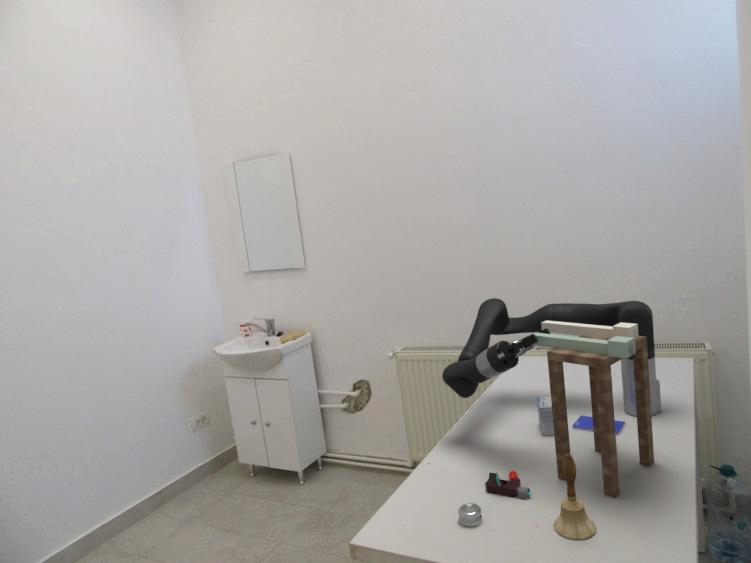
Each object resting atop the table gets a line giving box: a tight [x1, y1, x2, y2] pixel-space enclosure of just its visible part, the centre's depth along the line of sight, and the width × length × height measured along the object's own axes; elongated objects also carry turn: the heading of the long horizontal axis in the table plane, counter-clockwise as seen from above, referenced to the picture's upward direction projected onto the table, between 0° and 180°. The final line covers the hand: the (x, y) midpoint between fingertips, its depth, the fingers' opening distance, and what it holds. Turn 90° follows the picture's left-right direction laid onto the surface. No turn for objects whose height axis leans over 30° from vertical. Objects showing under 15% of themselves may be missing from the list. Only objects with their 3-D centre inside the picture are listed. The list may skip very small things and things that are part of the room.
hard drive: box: [572, 414, 626, 437], centre depth 153 cm, size 2×8×12 cm
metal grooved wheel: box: [457, 502, 483, 528], centre depth 116 cm, size 5×3×5 cm
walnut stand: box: [546, 336, 655, 499], centre depth 127 cm, size 14×20×32 cm
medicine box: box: [536, 396, 554, 436], centre depth 154 cm, size 8×4×9 cm, turn 168°
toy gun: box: [484, 470, 534, 500], centre depth 127 cm, size 10×12×5 cm
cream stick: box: [541, 320, 638, 340], centre depth 133 cm, size 24×4×4 cm, turn 39°
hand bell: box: [552, 453, 597, 541], centre depth 108 cm, size 8×8×16 cm
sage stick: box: [533, 332, 635, 359], centre depth 122 cm, size 24×4×4 cm, turn 40°
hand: (541, 334), depth 129 cm, fingers open, 5 cm apart
